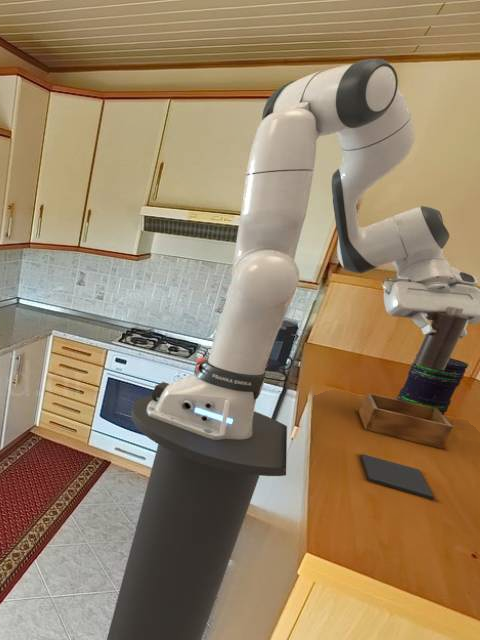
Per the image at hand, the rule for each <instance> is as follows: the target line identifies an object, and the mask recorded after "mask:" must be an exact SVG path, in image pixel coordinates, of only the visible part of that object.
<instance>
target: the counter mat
mask: <svg viewBox="0 0 480 640" xmlns="http://www.w3.org/2000/svg"><path fill="white" fill-rule="evenodd" d="M360 459H361V462H362V465H363V468H364V472H365V475H366V478H367V481H368V482H372V483H375V484H377V485H381V486H384V487H388V488H391V489H395V490H398V491H402V492H405V493H409V494H411V495H415V496H419V497H422V498H425V499H429V500H433V499H434V498H435V496H434V494H433V492H432V491H431V489H430V487H429V485H428V484H427V482H426V480H425V478H424V476H423V474H422V473H421V471H420V469H419V468H415V467H411V466H407V465H405V464H401V463H396V462H393V461H389V460H386V459H382V458H380V457H379V458H378V457H374V456H371V455H367V454H364V453H361V454H360Z"/></svg>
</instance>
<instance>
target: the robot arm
mask: <svg viewBox="0 0 480 640" xmlns="http://www.w3.org/2000/svg"><path fill="white" fill-rule="evenodd" d="M398 83H399V80H398V74H397V72H396V69H395V67H393V66H392V65H391V64H390V63H389V62H388V61H387V60H385V59H382V58H367V59H361V60H357V61H355V62H354V63H351V64H345V65H341V66H336V67H332V68H329V69H328V68H327V69H322V70H319V71H316V72H314V73H311V74H308V75H305V76H304V77H301V78H299V79H298V80H291V81H289V82H287V83H285V84H283V85H282V86H280V87H278V88H276V90H274V91H273V92H272V93H271V94H270V95H269V97H268V98H267V101H266V102H265V105H264V107H263V111H262V115H261V122H260V123H259V125H258V126H257V129H256V132H255V135H254V138H253V142H252V144H251V148H250V152H249V155H248V161H247V166H246V172H245V178H244V186H243V193H242V201H241V206H240V207H241V208H240V214H239V215H240V216H239V223H238V229H237V234H236V235H237V236H236V242H235V249H234V256H233V262H232V268H231V275H230V277H231V282H230V284H229V285H230V286H229V289H228V292H227V296H226V298H225V302H224V305H223V308H222V312H221V315H220V319H219V321H218V324H217V328H216V331H215V334H214V338H213V341H212V345H211V348H210V352H209V355H208V359H207V358H205V357H203V356H200V357H199V358H197V360H196V361H195V368H194V372H193V374H191V375H188V376H185V377H183V378H180V379H177V380H175V381H172V382H170V383H167V382H165V381H162V382H160V383H158V384H156V385H155V386H154V389H153V390H152V392H151V395H152V398H153V400H152V401H151V402H150V403H149V404H148V406H147V409H146V411H147V414H148V415H149V416H150V417H153V418H155V419H158V420H161V421H163V422H166V423H169V424H171V425H174V426H177V427H180V428H182V429H185V430H188V431H190V432H193V433H196V434H199V435H201V436H204V437H207V438H210V439H213V440H222V439H236V440H240V439H248V438H250V437H251V436H252V435H253V431H252V425H253V414H254V411H255V408H256V402H257V399H258V398H259V397H260V395H261V393H262V390H263V387H264V384H265V381H266V379H265V378H266V373H265V372H266V368H267V364H268V361H269V359H270V356H271V353H272V350H273V347H274V344H275V341H276V338H277V335H278V333H279V331H280V329H281V326H282V325H283V322H284V320H285V318H286V316H287V313H288V311H289V308H290V306H291V303H292V301H293V298H294V296H295V293H296V290H297V287H298V285H299V282H300V270H299V267H298V264H297V263H296V261H295V258H296V253H297V249H298V245H299V241H300V237H301V234H302V230H303V227H304V223H305V220H306V216H307V211H308V205H309V199H310V195H311V188H312V182H313V177H314V170H315V165H316V164H315V163H316V155H317V154H316V153H317V141H318V138H319V137H324V136H327V135H328V136H329V135H332V134H336V137H337V141H338V144H339V147H340V149H341V155H342V157H341V162H340V165H339V167H338V168H337V170H336V171H335V172H334V173H332V176H331V194H332V206H333V214H334V220H335V227H336V233H337V246H336V254H337V259H338V261H339V264H340V265H341V267H342V268H343V269H344V270H345V271H348V272H351V273H356V274H364V273H366V272H369V271H371V270H375V269H377V268H379V267H381V266H384V265H387V264H391V263H392V266H393V267H394V268H395V269H396V277H387V278H386V279H384V280H383V281H382V283H381V286H382V289H383V303H384V304H383V305H384V308H385V312H386V313H387V314H388V315H389V316H390V317H396V318H406V319H412V322H413V323H414V324H415V325H416V326H417V327H418V328H419V329H420V330H421V332H422V335H423V336H426V335H433V334H435V333H436V332H437V329H436V326H435V325H432V324H431V322H430V321H432V320H433V318H434V315H435V313H436V312H439V313H444V312H445V310H446V308H447V306H449V307H457V308H462V309H464V310H463V312H462V314H461V315H462V316H466V317H469V319H468V321H467V323H466V325H465V327H464V329H463V331H462V333H461V336H460V338H459V339H463V338H465V337H467V336H468V331H467V327H468V325H477V324H479V323H480V288H479V287H477V285H479V284H480V283H479V278H478V277H477V276H475V275H472V274H469V273H467V272H464V271H461V270H459V269H457V268H456V267H454V266H451V265H450V263H449V261H448V259H446V257H445V256H444V248H445V246H446V245H447V244H448V241H449V239H450V232H449V230H448V229H447V227H446V226H445V224H444V220H443V216H442V214H441V211H440V210H438V209H435V208H433V207H429V206H425V205H421V206H418V207H413V208H411V209H408V210H405V211H403V212H400V213H398V214H395V215H393V216H390V217H388V218H384V219H383V220H379V221H377V222H374V223H372V224H368V225H366V226H359V218H358V208H357V207H358V206H357V205H358V201H359V200H360V198H361V197H362V196H363V194H365V193H366V192H367V191H368V190H369V189H371V188H372V187H373V186H374V185H375V184H376V183H378V182H379V181H380V180H382V179H383V178H384V177H386V176H387V175H389V174H390V173H391V172H393V171H394V170H395V169H396V168H398V166H399V165H400V164H401V163H402V162H403V161H404V160H405V159H406V158H407V156H408V155H409V153H410V152H411V150H412V148H413V147H414V146H413V145H414V144H415V140H416V136H415V134H416V133H415V128H414V122H413V118H412V115H411V112H410V111H411V110H410V109H409V105H408V103H407V101H406V99H405V96H404V95H403V93H402V90H401V88H400V87H399V85H398ZM156 397H158V398H156Z"/></svg>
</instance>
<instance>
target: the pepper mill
mask: <svg viewBox="0 0 480 640" xmlns="http://www.w3.org/2000/svg"><path fill="white" fill-rule="evenodd" d="M463 310H464V309H462V308H457V307H449V306H447V308H446V310H445V312H444V313H439V312H436V313H435V315H434V318H433V320H431V322H430V323H431V324H432V325H435V326H436V329H437V332H436V333H435V334H433V335H424V338H423V340H422V342H421V345H420V347H419V349H418V351H417V353H416V355H417V356H416V355H415V357H414V359H415V360H414V359H413V362H414V364H416V365H418V366H422V367H425V368H430V369H435V370H444V369H445V367H446V365H447V363H448V361H449V359H450V358H451V356H452V355H453V352H454V350H455V349H456V346H457V344H458V342H459V340H460V339H461V338H460V336H461V333H462V331H463V329H464V327H465V325H466V323H467V321H468V319H469V317H466V316H462V315H461V314H462V312H463Z"/></svg>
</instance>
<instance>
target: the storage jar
mask: <svg viewBox="0 0 480 640" xmlns="http://www.w3.org/2000/svg"><path fill="white" fill-rule="evenodd" d="M416 356H417V354H416V355H415V357H416ZM414 360H415V358H414V359H413V361H412V363H411V365H410V369H409V370H408V372H407V375H408V376H407V378H406V381H405V383H404V385H403V387H402V388H400V390H399V394H397V396H396V399H397V400H402V401H406V402H411V403H415V404H420V405H424V406H429V407H433V408H437V409H438V410H439V411H440V412H441V413H442V415H443V416H444V417H445V413H447V411H448V409H449V406H451V402H452V401H451V399H452V397H453V395H454V393H455V391H456V389H457V388H458V387H459V386H460V385H461V382H462V380H463V378H464V377H465V373H466V371H467V370H466V369H468V367H469V363H467V362H465V361H462V360H459V359H456V358H451V357H450V359H449V361H448V363H447V365H446V367H445V369H444V370H435V369H430V368H425V367H422V366H418V365H416V364H414Z"/></svg>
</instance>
